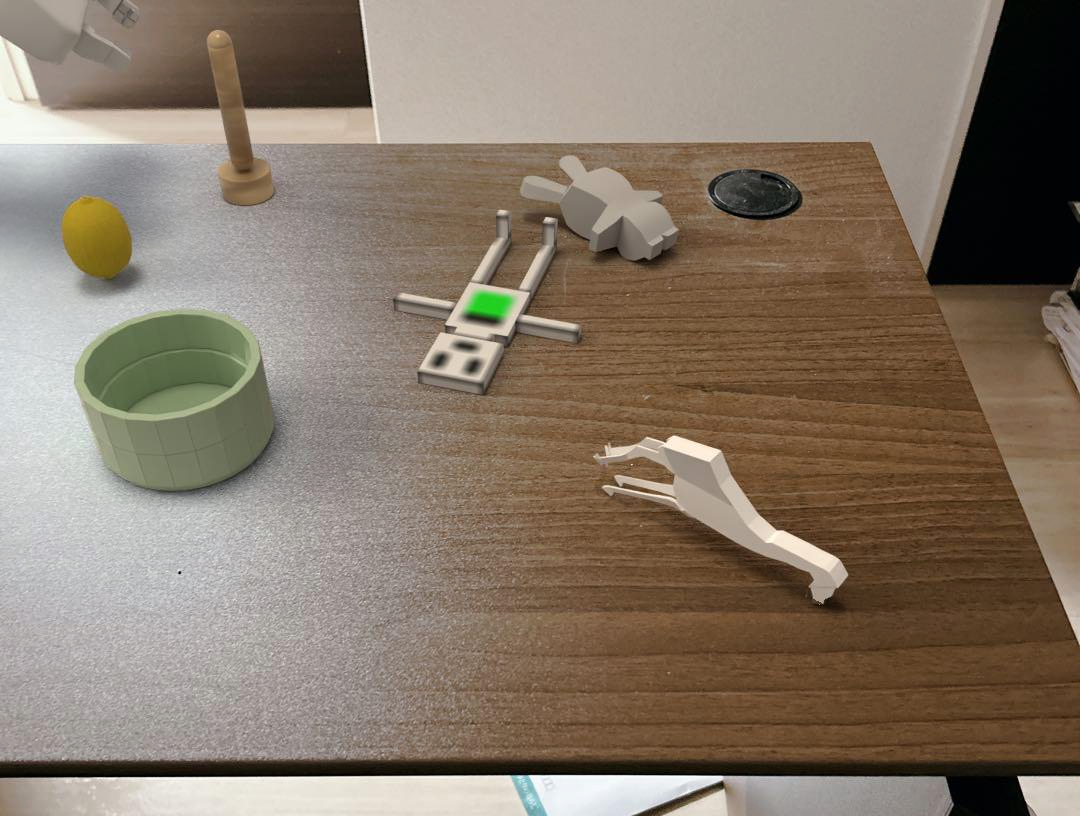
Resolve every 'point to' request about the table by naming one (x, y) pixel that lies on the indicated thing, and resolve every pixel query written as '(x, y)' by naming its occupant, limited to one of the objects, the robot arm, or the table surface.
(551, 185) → the bunny figurine
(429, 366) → the robot figure
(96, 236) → the lemon
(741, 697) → the table surface
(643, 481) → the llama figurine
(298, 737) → the table surface
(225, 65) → the wooden tamper
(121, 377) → the bowl
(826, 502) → the table surface
